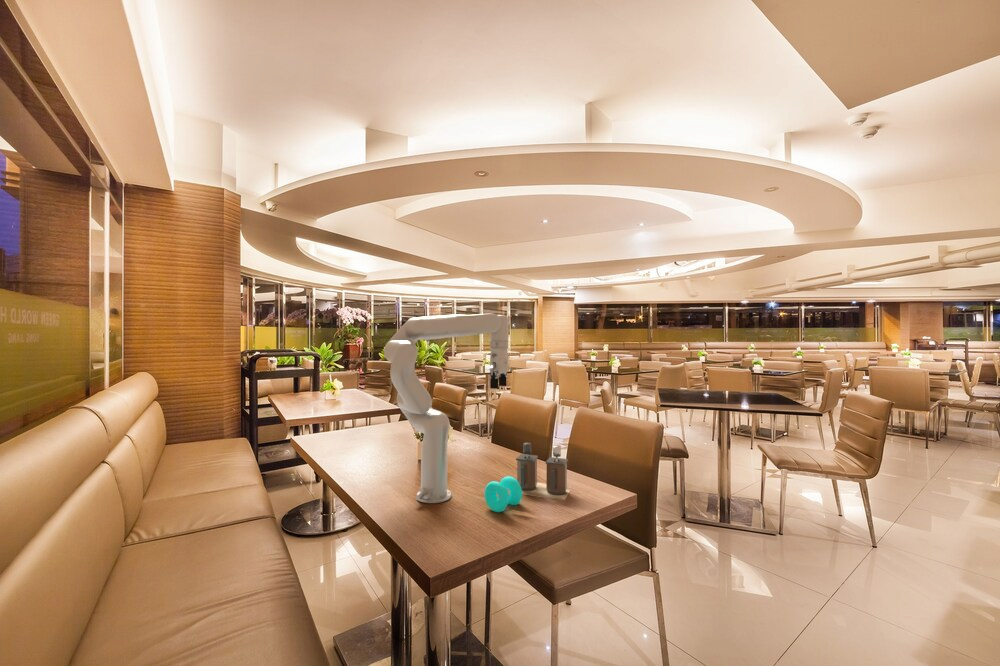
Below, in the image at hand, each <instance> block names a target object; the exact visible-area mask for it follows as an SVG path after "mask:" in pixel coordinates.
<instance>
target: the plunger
mask: <svg viewBox="0 0 1000 666" xmlns="http://www.w3.org/2000/svg"><path fill="white" fill-rule="evenodd" d="M561 446H562V445H560V444H553V445H552V457H554V458H556V462H558V458H561V456H562V447H561Z"/></svg>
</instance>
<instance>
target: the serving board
mask: <svg viewBox="0 0 1000 666" xmlns="http://www.w3.org/2000/svg"><path fill="white" fill-rule="evenodd" d="M546 483H547V482H546ZM546 483H545V482H538V481H537V485H536V489H535V490H532V491H523V490H522V495H523V496H524V495H525V496H532V497H539V498H545V499H553V500H559V501H566V499H567V497H568V495H569V494H570V491H571V489H572V486H568V485H567V489H566V493H565V494H563V495H552V494H549V493H548V492H547V489H546Z"/></svg>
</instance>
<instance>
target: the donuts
mask: <svg viewBox="0 0 1000 666" xmlns="http://www.w3.org/2000/svg"><path fill="white" fill-rule="evenodd" d="M522 499H523V494H522V489H521V486H520V484H519V482H518V481H517V478H515V477H513V476H504V477H503V478H501V480H500V482H499V481H494V480H493V481H490V482H488V483H487V485H486V486H485V488H484V500H485V502H486V505H487V507H488V508H489V509H490V510H491V511H493V512H495V513H502V512H504V510H506V509H507V506H508V505H512V506H517V505H518V504H520V503H521V501H522Z"/></svg>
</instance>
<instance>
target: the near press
mask: <svg viewBox="0 0 1000 666" xmlns="http://www.w3.org/2000/svg"><path fill="white" fill-rule="evenodd" d="M545 464H546V489H547V492H548V493H549V494H552V495H563V494H565V493H566V489H567V486H568V485H567V483H568V482H567V481H568V480H567V478H568V477H567V475H568V474H567V473H568V469H567V467H568V465H567V464H568V458H561V457H558V462H556V457H554V456H550V457H548V459H547V460H546V461H545Z"/></svg>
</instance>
